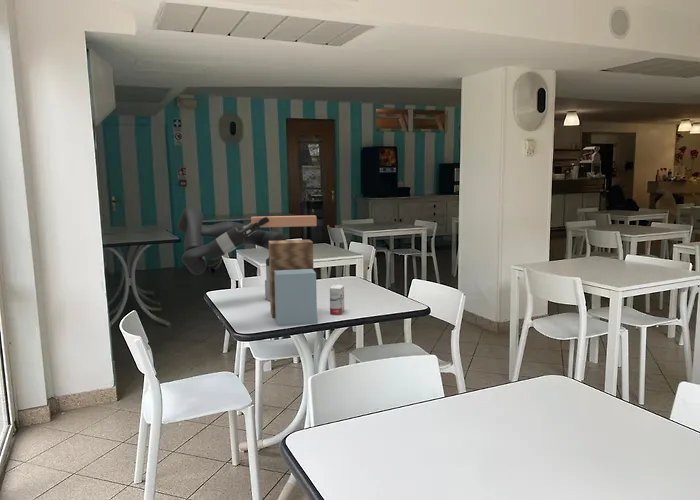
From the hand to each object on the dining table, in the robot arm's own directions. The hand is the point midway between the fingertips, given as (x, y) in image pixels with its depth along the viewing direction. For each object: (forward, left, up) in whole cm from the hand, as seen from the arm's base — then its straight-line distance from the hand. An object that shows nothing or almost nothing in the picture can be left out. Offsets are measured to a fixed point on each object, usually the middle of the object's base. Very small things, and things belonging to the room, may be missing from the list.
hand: (267, 218), depth 221 cm
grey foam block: (+7, +7, -43) cm, 45 cm away
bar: (+4, +5, -3) cm, 7 cm away
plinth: (-2, +16, -43) cm, 46 cm away
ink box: (+13, +29, -43) cm, 54 cm away
